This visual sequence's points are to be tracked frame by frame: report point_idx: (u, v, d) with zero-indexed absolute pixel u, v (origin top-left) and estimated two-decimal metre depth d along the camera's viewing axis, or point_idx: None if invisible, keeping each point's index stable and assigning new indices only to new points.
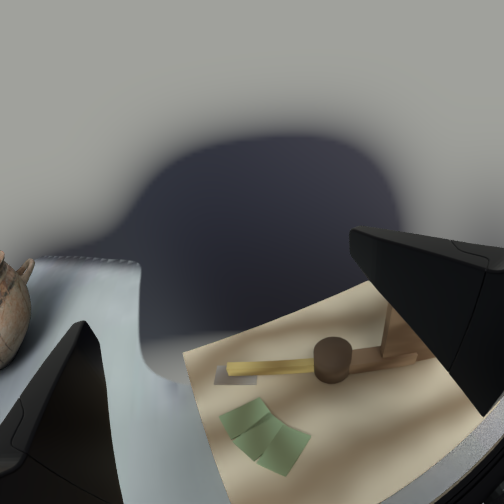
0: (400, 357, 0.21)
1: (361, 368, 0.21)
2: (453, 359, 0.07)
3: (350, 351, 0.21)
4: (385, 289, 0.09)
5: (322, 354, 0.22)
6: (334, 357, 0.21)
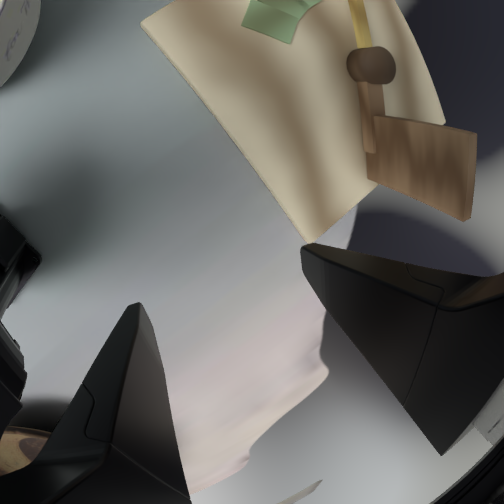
0: (372, 134, 0.21)
1: (363, 94, 0.19)
2: (407, 394, 0.06)
3: (381, 82, 0.18)
4: (335, 313, 0.08)
5: (377, 54, 0.17)
6: (375, 65, 0.17)
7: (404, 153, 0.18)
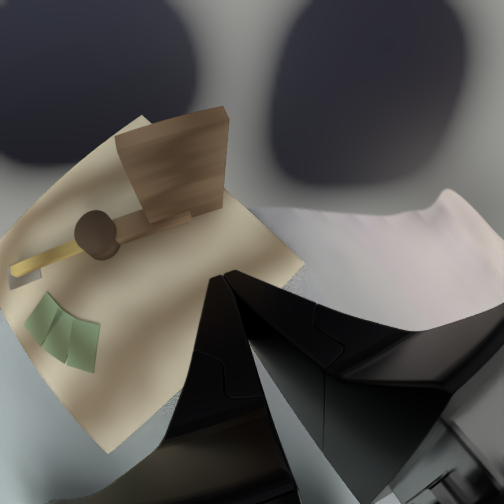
0: (170, 220, 0.21)
1: (130, 238, 0.21)
2: (322, 443, 0.06)
3: (110, 226, 0.19)
4: (254, 347, 0.08)
5: (82, 237, 0.19)
6: (94, 238, 0.19)
7: (177, 191, 0.18)
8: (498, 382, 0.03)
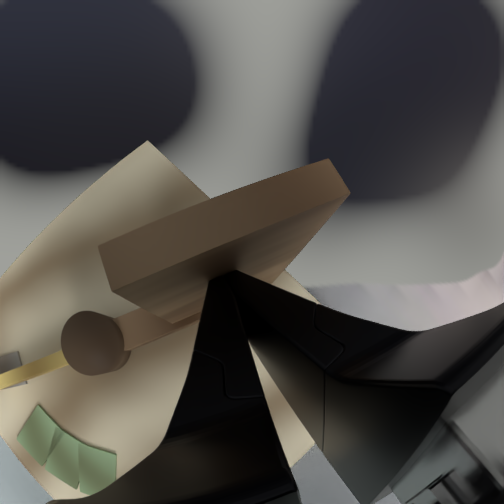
0: None
1: (145, 343, 0.14)
2: (322, 443, 0.06)
3: (113, 338, 0.12)
4: (254, 347, 0.08)
5: (75, 354, 0.12)
6: (93, 357, 0.12)
7: None
8: (498, 382, 0.03)
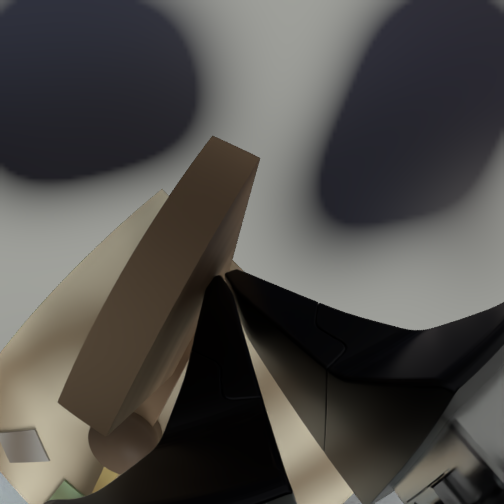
0: None
1: (163, 407, 0.12)
2: (324, 443, 0.06)
3: (136, 426, 0.10)
4: (256, 346, 0.08)
5: (118, 462, 0.10)
6: (134, 454, 0.10)
7: (193, 324, 0.10)
8: (500, 380, 0.03)
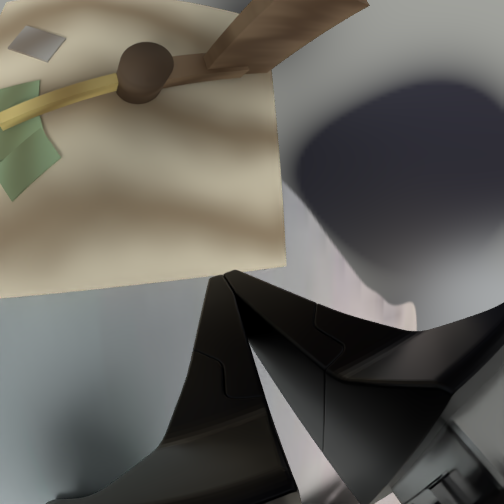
0: (229, 70, 0.17)
1: (179, 81, 0.16)
2: (322, 443, 0.06)
3: (171, 62, 0.14)
4: (254, 347, 0.08)
5: (133, 69, 0.13)
6: (150, 72, 0.13)
7: (267, 43, 0.14)
8: (498, 382, 0.03)
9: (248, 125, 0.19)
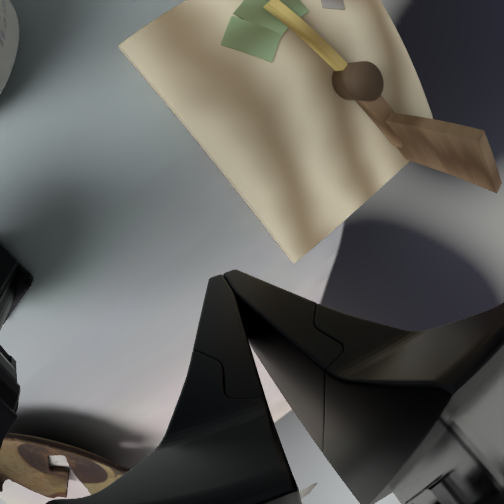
0: (393, 135, 0.21)
1: (366, 108, 0.20)
2: (322, 444, 0.06)
3: (377, 96, 0.18)
4: (254, 347, 0.08)
5: (359, 75, 0.17)
6: (364, 88, 0.18)
7: (428, 147, 0.19)
8: (498, 382, 0.03)
9: (366, 172, 0.24)
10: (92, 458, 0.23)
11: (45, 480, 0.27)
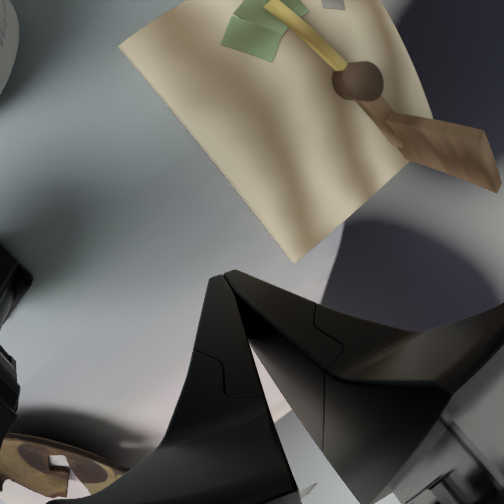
0: (393, 135, 0.21)
1: (366, 108, 0.20)
2: (322, 444, 0.06)
3: (377, 96, 0.18)
4: (254, 347, 0.08)
5: (359, 75, 0.17)
6: (364, 88, 0.17)
7: (428, 148, 0.19)
8: (498, 382, 0.03)
9: (366, 172, 0.24)
10: (92, 458, 0.23)
11: (45, 480, 0.27)
